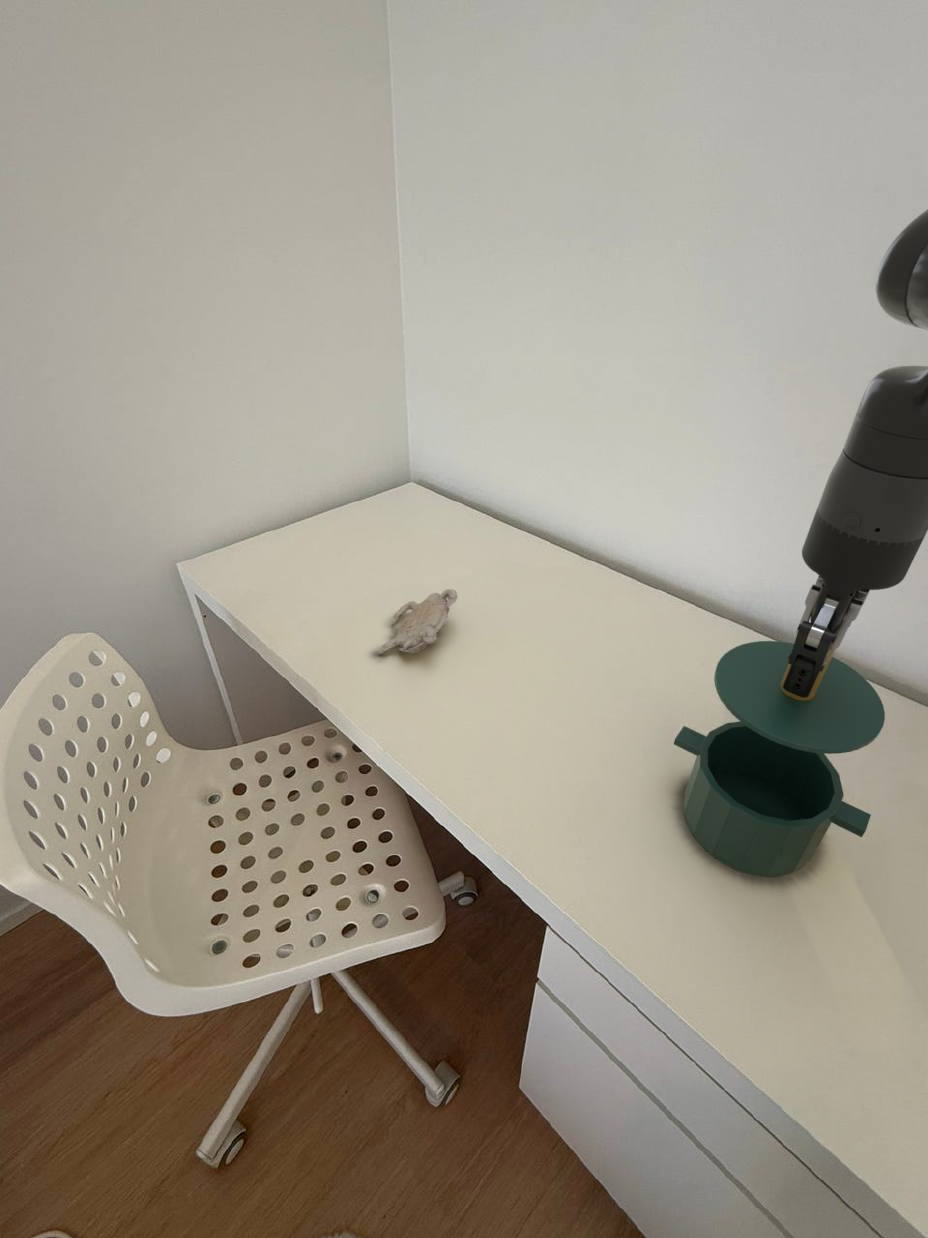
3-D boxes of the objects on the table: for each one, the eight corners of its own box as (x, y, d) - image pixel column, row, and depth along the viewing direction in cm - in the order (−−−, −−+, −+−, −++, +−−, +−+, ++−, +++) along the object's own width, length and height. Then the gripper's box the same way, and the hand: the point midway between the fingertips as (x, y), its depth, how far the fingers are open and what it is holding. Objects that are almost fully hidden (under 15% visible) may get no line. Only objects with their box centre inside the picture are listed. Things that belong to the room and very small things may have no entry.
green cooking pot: (689, 743, 80) (704, 693, 75) (855, 824, 71) (886, 773, 66) (640, 816, 72) (653, 765, 66) (822, 919, 62) (854, 870, 57)
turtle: (442, 684, 93) (466, 632, 88) (378, 672, 90) (399, 618, 85) (433, 617, 105) (454, 568, 100) (377, 605, 102) (395, 554, 97)
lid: (743, 632, 69) (761, 575, 65) (894, 690, 62) (927, 631, 58) (688, 708, 60) (705, 648, 56) (858, 786, 53) (894, 725, 49)
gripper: (910, 570, 43) (823, 746, 54) (943, 495, 52) (863, 659, 62) (793, 535, 47) (733, 706, 57) (842, 471, 56) (783, 629, 66)
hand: (801, 680), depth 60 cm, fingers closed on lid, 3 cm apart
